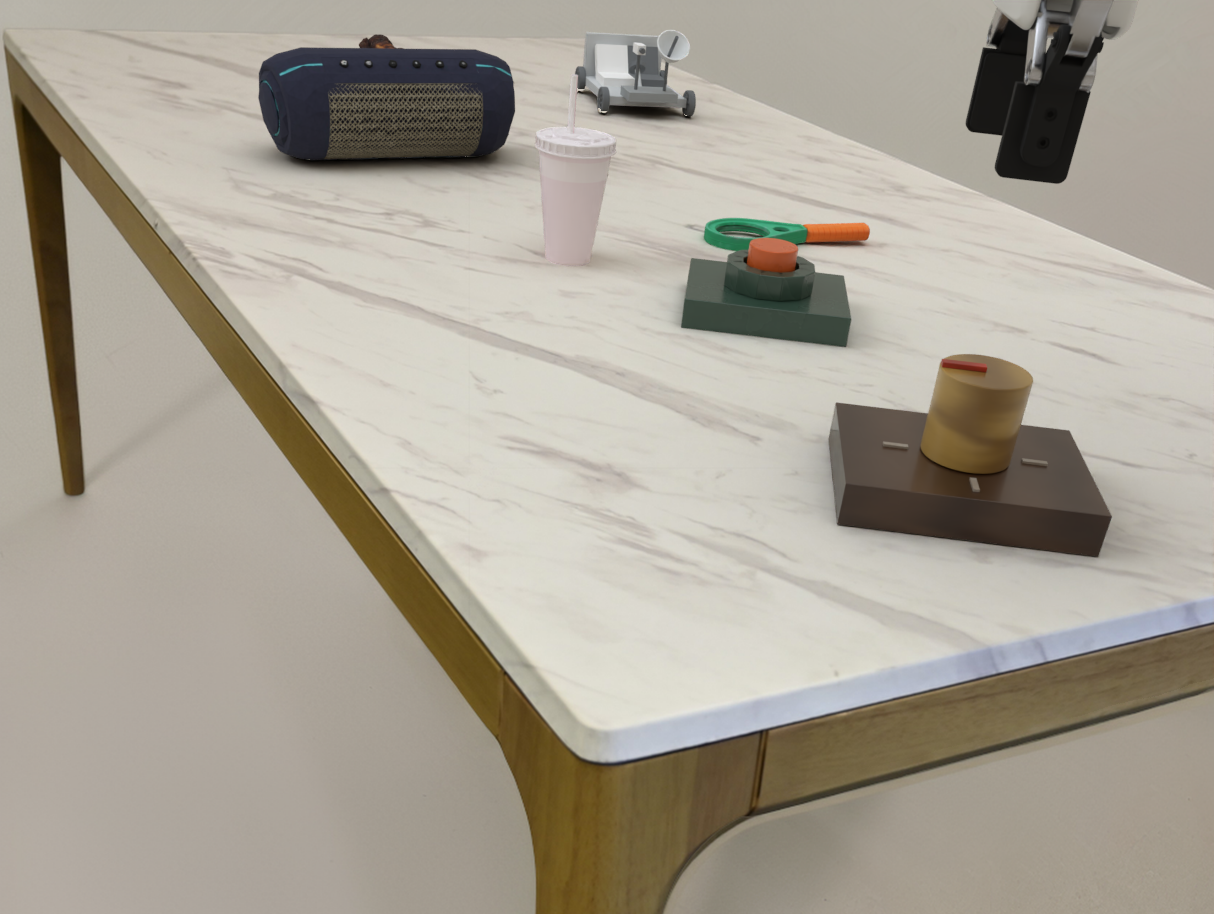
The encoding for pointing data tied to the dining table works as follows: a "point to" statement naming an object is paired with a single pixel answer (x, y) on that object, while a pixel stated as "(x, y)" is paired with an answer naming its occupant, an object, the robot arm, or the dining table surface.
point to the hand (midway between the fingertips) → (1010, 154)
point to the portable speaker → (386, 102)
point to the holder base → (963, 486)
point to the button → (772, 255)
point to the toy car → (634, 70)
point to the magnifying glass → (780, 232)
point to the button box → (767, 301)
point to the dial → (975, 413)
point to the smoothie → (572, 185)
